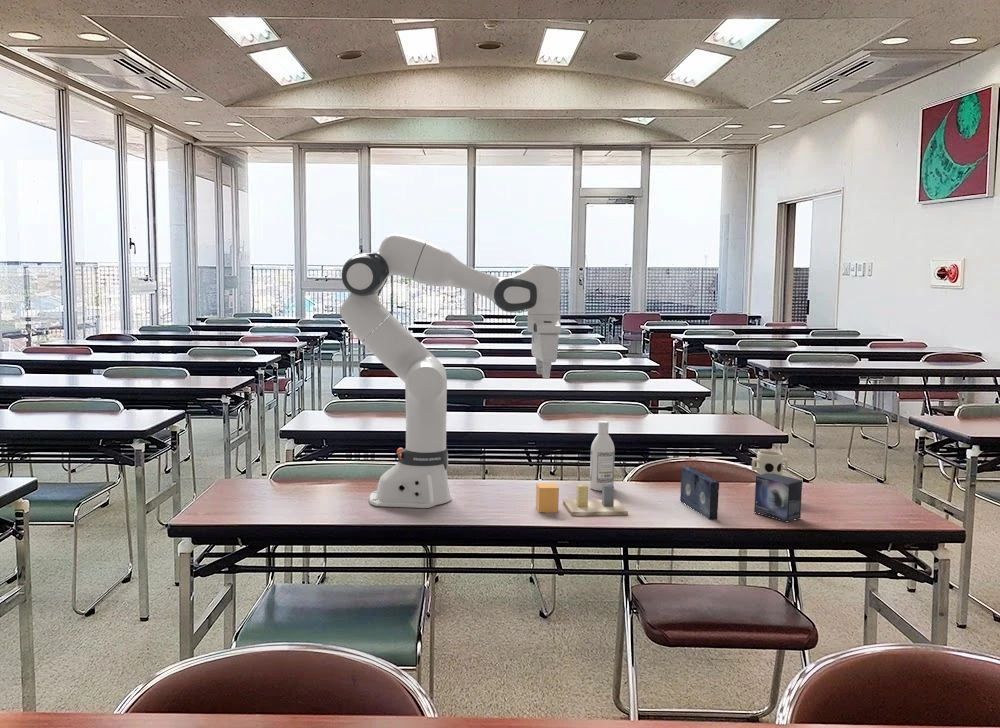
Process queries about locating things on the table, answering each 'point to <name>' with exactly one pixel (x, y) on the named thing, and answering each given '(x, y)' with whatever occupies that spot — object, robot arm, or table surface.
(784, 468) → the character mug
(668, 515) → the table surface
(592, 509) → the birch board
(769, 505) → the small box
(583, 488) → the brass post
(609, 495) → the steel post
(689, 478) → the vhs cassette tape
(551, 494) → the tall orange prism
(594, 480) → the bath foam
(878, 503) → the table surface
